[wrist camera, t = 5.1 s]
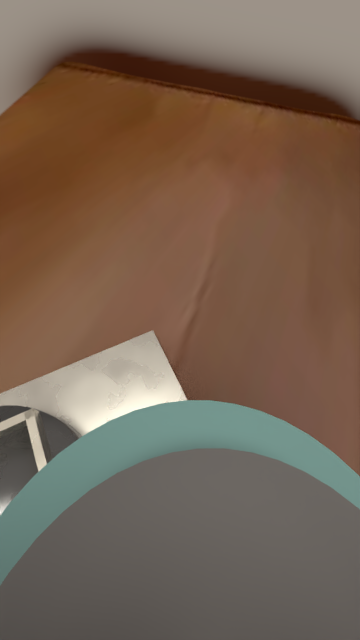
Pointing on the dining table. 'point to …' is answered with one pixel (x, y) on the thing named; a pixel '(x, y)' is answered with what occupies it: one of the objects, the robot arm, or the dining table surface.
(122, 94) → the dining table surface
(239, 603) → the bottle
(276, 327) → the dining table surface
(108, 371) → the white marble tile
